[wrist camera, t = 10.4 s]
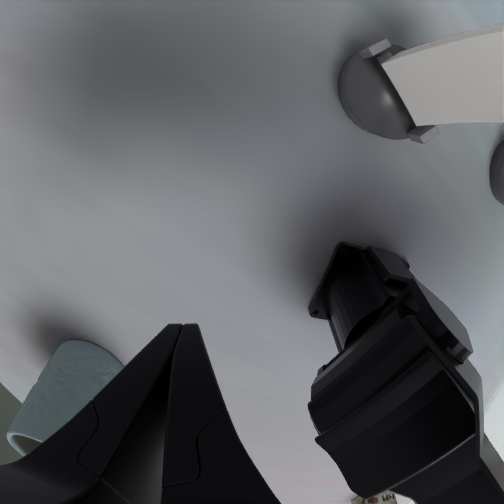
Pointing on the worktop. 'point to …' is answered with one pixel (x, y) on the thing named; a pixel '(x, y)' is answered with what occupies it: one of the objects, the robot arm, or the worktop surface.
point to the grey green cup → (61, 392)
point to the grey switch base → (378, 97)
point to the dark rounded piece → (498, 173)
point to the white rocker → (452, 78)
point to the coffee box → (377, 499)
